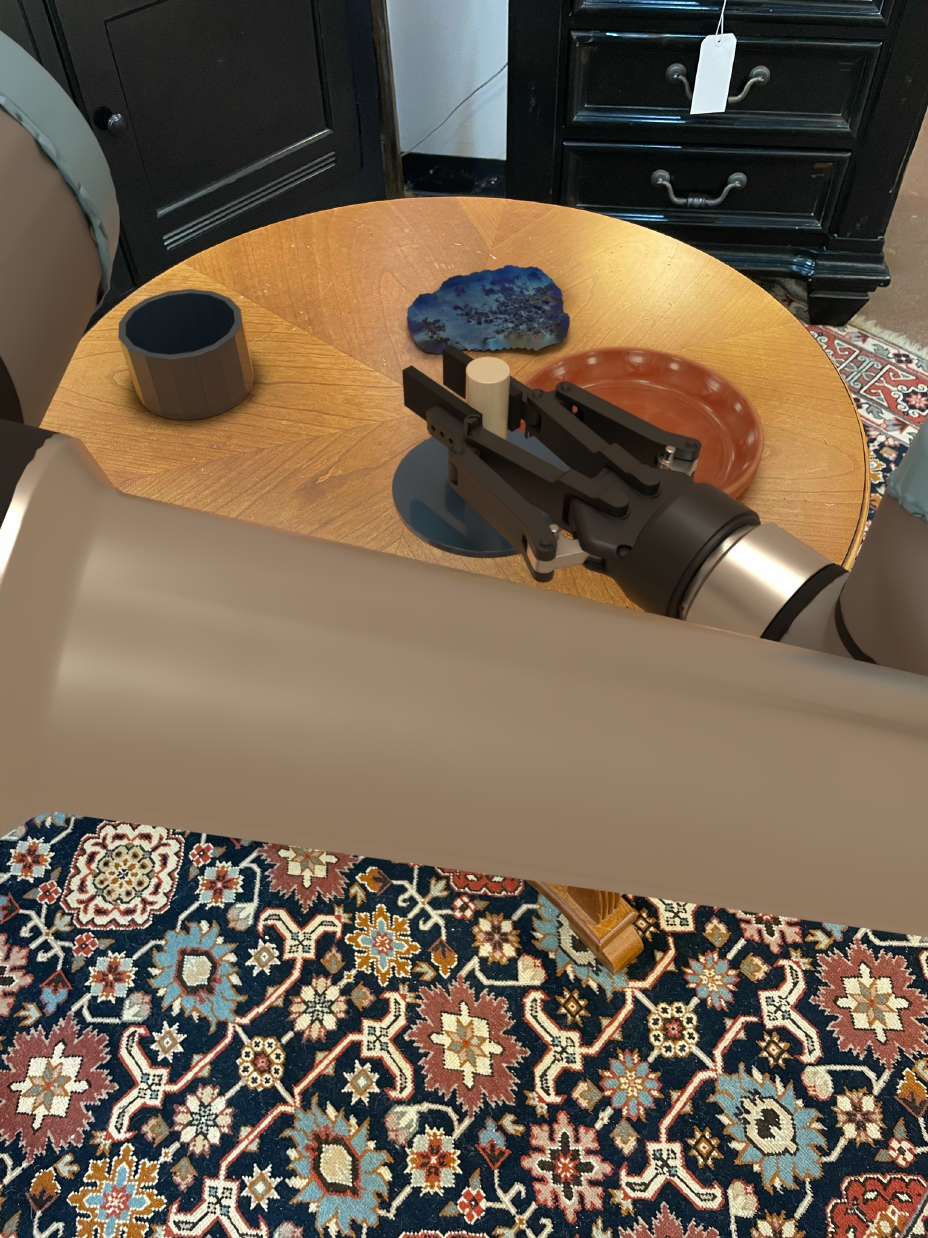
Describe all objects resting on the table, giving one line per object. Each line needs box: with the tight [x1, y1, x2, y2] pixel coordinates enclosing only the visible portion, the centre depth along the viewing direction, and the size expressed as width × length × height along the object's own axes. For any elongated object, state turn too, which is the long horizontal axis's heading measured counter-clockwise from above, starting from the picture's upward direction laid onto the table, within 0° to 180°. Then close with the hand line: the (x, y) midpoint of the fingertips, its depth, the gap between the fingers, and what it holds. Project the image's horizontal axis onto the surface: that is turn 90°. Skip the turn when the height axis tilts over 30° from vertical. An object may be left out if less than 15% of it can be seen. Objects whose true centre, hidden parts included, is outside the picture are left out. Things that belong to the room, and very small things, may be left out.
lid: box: [391, 356, 571, 559], centre depth 60 cm, size 12×12×10 cm
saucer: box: [516, 346, 766, 500], centre depth 87 cm, size 23×23×4 cm
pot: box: [117, 288, 255, 421], centre depth 93 cm, size 11×11×7 cm
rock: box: [406, 264, 571, 355], centre depth 102 cm, size 15×17×2 cm
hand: (428, 375), depth 61 cm, fingers closed on lid, 3 cm apart
